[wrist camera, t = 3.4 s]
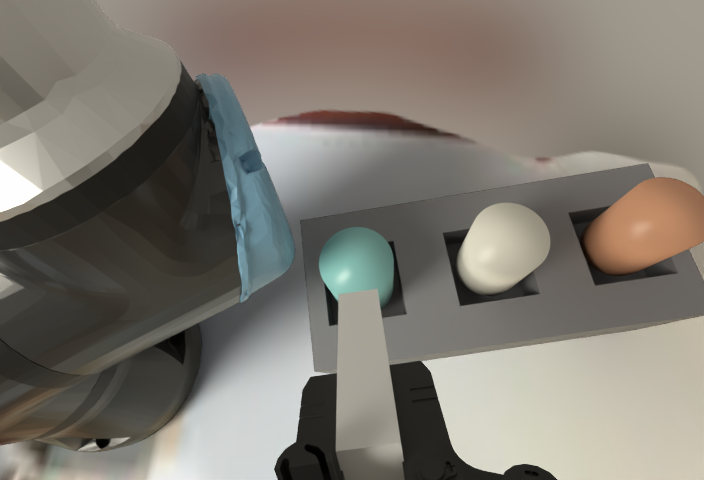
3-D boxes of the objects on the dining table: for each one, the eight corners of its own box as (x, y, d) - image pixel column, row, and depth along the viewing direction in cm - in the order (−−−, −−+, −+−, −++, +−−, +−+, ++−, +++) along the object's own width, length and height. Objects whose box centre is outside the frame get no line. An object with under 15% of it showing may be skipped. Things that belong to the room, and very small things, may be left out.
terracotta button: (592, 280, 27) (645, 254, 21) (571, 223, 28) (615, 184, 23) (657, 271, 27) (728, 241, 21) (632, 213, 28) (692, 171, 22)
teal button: (337, 319, 28) (323, 304, 22) (330, 261, 29) (315, 233, 24) (398, 310, 27) (399, 292, 22) (388, 252, 29) (386, 221, 23)
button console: (333, 373, 34) (314, 371, 26) (320, 256, 38) (300, 220, 29) (634, 329, 33) (718, 312, 24) (589, 213, 37) (648, 163, 28)
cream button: (463, 300, 27) (481, 279, 22) (449, 242, 29) (462, 209, 23) (525, 291, 27) (561, 267, 21) (508, 233, 28) (537, 197, 23)
